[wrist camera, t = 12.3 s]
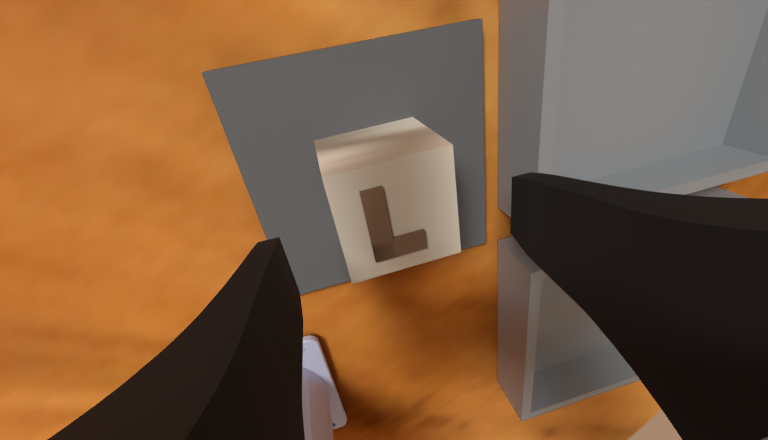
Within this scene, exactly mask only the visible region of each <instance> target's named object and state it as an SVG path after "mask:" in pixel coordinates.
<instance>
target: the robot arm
mask: <svg viewBox="0 0 768 440" xmlns="http://www.w3.org/2000/svg"><path fill="white" fill-rule="evenodd" d="M511 234H512V235H513V237H514V238H515V240H516V241H517V242H518V244H519V245H520V246H521V248H522V249H523V250H524V251H525V253H526V254H527V255H528V256H529V257H530V258H531V259H532V261H533V262H534V263H535V264H537V265H538V266H539V267H540V268H541V269H542V270H543V271H544V272H545V273H546V274H547V275H548V276H549V277H550V278H551V279H552V280H553V281H554V282H555V283H556V284H557V285H558V286H559V287H560V288H561V289H562V290H563V291H564V292H565V293H566V294H567V295H568V296H569V297H571V298H572V299H573V300H574V301H575V302H576V303H577V304H578V305H579V306H580V307H581V308H582V309H583V310H584V311H585V313H586V314H587V315H588V316H589V317H590V318H591V319H592V320H593V321H594V323H595V324H596V325H597V326H598V327H599V329H600V330H601V331H602V332H603V333H604V335H605V336H606V337H607V338H608V339H609V340H610V342H611V343H612V344H613V345H614V347H615V348H616V349H617V350H618V352H619V353H620V354H621V355H622V357H623V358H624V359H625V361H626V362H627V363H628V364H629V366H630V367H631V368H632V370H633V371H634V372H635V373H636V375H637V376H638V377H639V379H640V380H641V381H642V383H643V384H644V386H645V387H646V388H647V390H648V391H649V392H650V394H651V395H652V397H653V398H654V399H655V401H656V402H657V403H658V405H659V406H660V408H661V409H662V410H663V411H664V413H665V414H666V416H667V417H668V419H669V420H670V422H671V423H672V425H673V426H674V428H675V429H676V430H677V432H678V434H679V435H680V437H681V438H682V440H768V199H755V198H726V197H706V196H693V195H682V194H671V193H661V192H653V191H645V190H638V189H632V188H625V187H619V186H613V185H607V184H601V183H596V182H590V181H585V180H580V179H574V178H569V177H563V176H558V175H551V174H545V173H534V172H529V173H525V174H521V175H517V176H514V177H512V190H511ZM346 423H347V417H346V413H345V410H344V408H343V405H342V402H341V400H340V397H339V394H338V391H337V389H336V386H335V383H334V380H333V378H332V375H331V372H330V370H329V367H328V364H327V361H326V359H325V356H324V353H323V351H322V348H321V345H320V342H319V340H318V338H317V337H315V336H312V335H309V336H305V337H303V316H302V307H301V299H300V292H299V289H298V286H297V283H296V281H295V278H294V275H293V273H292V270H291V267H290V264H289V262H288V259H287V256H286V254H285V251H284V248H283V245H282V243H281V240H280V237H277V238H273V239H269V240H265V241H262V242H258V243H257V244H256V245H255V246H254V248H253V249H252V250H251V251H250V253H249V254H248V255H247V257H246V258H245V260H244V261H243V262H242V264H241V265H240V266H239V268H238V269H237V270H236V271H235V273H234V274H233V275H232V277H231V278H230V279H229V280H228V282H227V283H226V284H225V286H224V287H223V288H222V289H221V290H220V291H219V293H218V294H217V295H216V296H215V297H214V298H213V300H212V301H211V302H210V303H209V304H208V305H207V307H206V308H205V309H204V310H203V311H202V312H201V313H200V314H199V316H198V317H197V318H196V319H195V320H194V321H193V322H192V323H191V324H190V325H189V326H188V327H187V328H186V329H185V330H184V331H183V332H182V333H181V334H180V335H179V336H178V337H177V338H176V339H175V340H174V341H172V342H171V343H170V344H169V345H168V346H167V347H166V348H165V349H164V350H163V351H162V352H160V353H159V354H158V355H157V356H156V357H155V358H153V359H152V360H151V361H150V362H149V363H147V364H146V365H145V366H144V367H143V368H142V369H140V370H139V371H138V372H137V373H136V374H135V375H133V376H132V377H131V378H130V379H129V380H127V381H126V382H125V383H124V384H123V385H121V386H120V387H119V388H117V389H116V390H115V391H114V392H112V393H111V394H110V395H108V396H107V397H106V398H104V399H103V400H102V401H101V402H99V403H98V404H97V405H95V406H94V407H93V408H91V409H90V410H88V411H87V412H86V413H84V414H83V415H82V416H80V417H79V418H77V419H76V420H75V421H73V422H72V423H71V424H69V425H68V426H66V427H65V428H64V429H62V430H61V431H59V432H58V433H56V434H55V435H54V436H52V437H51V438H49V439H48V440H334V437H333V430H334V429H337V428H340V427H342V426H344V425H345V424H346Z"/></svg>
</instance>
